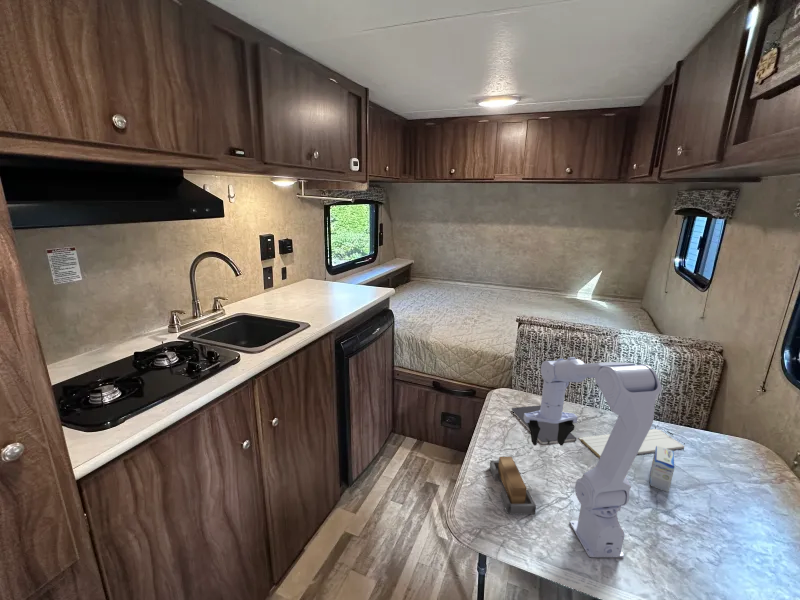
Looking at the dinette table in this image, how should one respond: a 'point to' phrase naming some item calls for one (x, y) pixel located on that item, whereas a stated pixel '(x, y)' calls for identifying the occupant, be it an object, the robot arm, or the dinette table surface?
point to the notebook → (542, 426)
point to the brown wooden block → (512, 480)
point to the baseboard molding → (647, 446)
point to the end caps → (510, 508)
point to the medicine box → (662, 468)
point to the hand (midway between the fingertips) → (546, 443)
